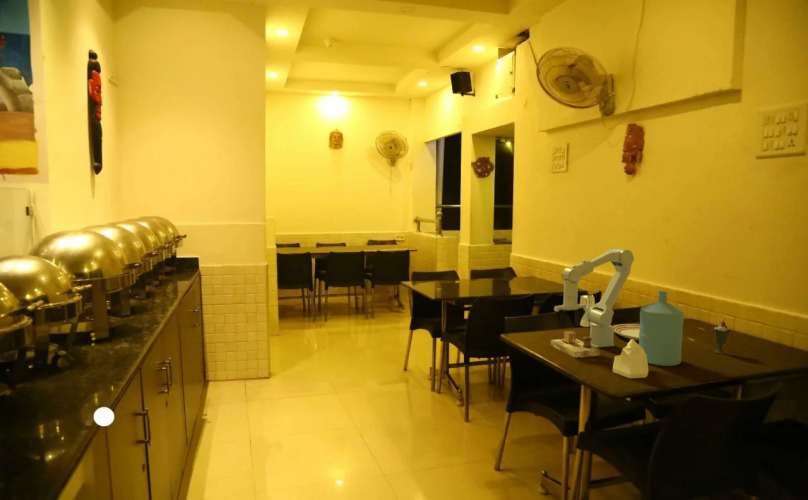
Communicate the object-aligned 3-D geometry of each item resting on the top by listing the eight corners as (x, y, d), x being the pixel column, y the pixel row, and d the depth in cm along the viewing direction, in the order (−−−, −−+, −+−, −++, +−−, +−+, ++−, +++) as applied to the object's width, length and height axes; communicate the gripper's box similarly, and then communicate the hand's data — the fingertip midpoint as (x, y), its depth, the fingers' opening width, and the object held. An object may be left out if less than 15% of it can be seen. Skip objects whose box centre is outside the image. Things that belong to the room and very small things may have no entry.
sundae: (723, 356, 213) (725, 320, 212) (707, 351, 219) (709, 317, 218) (732, 353, 216) (735, 318, 215) (717, 349, 222) (719, 315, 221)
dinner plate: (633, 326, 261) (633, 320, 260) (688, 339, 238) (688, 332, 238) (599, 335, 246) (599, 328, 245) (654, 349, 223) (654, 342, 222)
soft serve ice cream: (660, 381, 189) (664, 348, 184) (619, 385, 189) (621, 351, 184) (645, 362, 201) (648, 330, 196) (606, 365, 201) (608, 333, 196)
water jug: (679, 369, 197) (683, 297, 194) (635, 362, 206) (638, 293, 203) (682, 358, 211) (686, 290, 207) (640, 352, 219) (643, 286, 216)
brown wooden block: (570, 346, 227) (571, 330, 226) (575, 348, 224) (576, 333, 223) (563, 347, 226) (564, 331, 225) (568, 349, 223) (568, 333, 222)
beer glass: (594, 327, 258) (595, 298, 256) (580, 327, 259) (581, 297, 258) (592, 324, 265) (593, 295, 263) (578, 323, 266) (579, 294, 264)
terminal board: (574, 343, 232) (574, 329, 231) (599, 355, 214) (600, 340, 214) (550, 345, 228) (550, 331, 228) (574, 358, 211) (575, 342, 210)
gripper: (561, 298, 217) (560, 330, 219) (590, 296, 221) (589, 327, 223) (551, 295, 224) (551, 325, 225) (580, 293, 228) (579, 323, 229)
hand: (569, 326), depth 225 cm, fingers open, 7 cm apart
